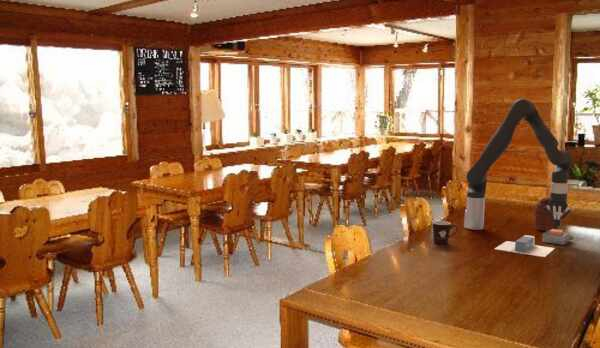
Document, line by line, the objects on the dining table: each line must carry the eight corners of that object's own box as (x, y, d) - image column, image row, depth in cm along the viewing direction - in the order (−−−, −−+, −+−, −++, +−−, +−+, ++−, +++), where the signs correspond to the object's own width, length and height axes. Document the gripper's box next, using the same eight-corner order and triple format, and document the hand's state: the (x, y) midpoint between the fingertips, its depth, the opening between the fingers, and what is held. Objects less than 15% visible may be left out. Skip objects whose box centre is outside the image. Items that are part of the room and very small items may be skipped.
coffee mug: (429, 244, 264) (430, 223, 262) (434, 240, 271) (434, 220, 270) (454, 246, 258) (454, 226, 257) (458, 242, 266) (458, 222, 265)
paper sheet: (494, 249, 254) (494, 248, 254) (506, 241, 268) (506, 240, 268) (544, 257, 241) (544, 256, 241) (554, 248, 255) (554, 247, 255)
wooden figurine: (559, 230, 291) (561, 197, 288) (556, 233, 286) (558, 199, 283) (535, 227, 298) (537, 195, 295) (532, 229, 293) (534, 196, 290)
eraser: (514, 250, 250) (515, 241, 249) (524, 244, 262) (525, 234, 261) (525, 252, 247) (525, 242, 246) (534, 245, 259) (534, 236, 258)
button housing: (542, 241, 267) (542, 233, 267) (547, 237, 275) (547, 230, 275) (564, 245, 261) (564, 236, 261) (569, 240, 269) (569, 232, 269)
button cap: (549, 236, 268) (549, 230, 267) (551, 234, 271) (552, 228, 271) (560, 238, 264) (560, 232, 264) (562, 236, 268) (563, 230, 268)
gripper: (575, 192, 264) (573, 227, 266) (546, 189, 272) (544, 223, 274) (572, 194, 258) (570, 229, 260) (542, 191, 266) (540, 226, 268)
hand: (556, 226), depth 267 cm, fingers closed
